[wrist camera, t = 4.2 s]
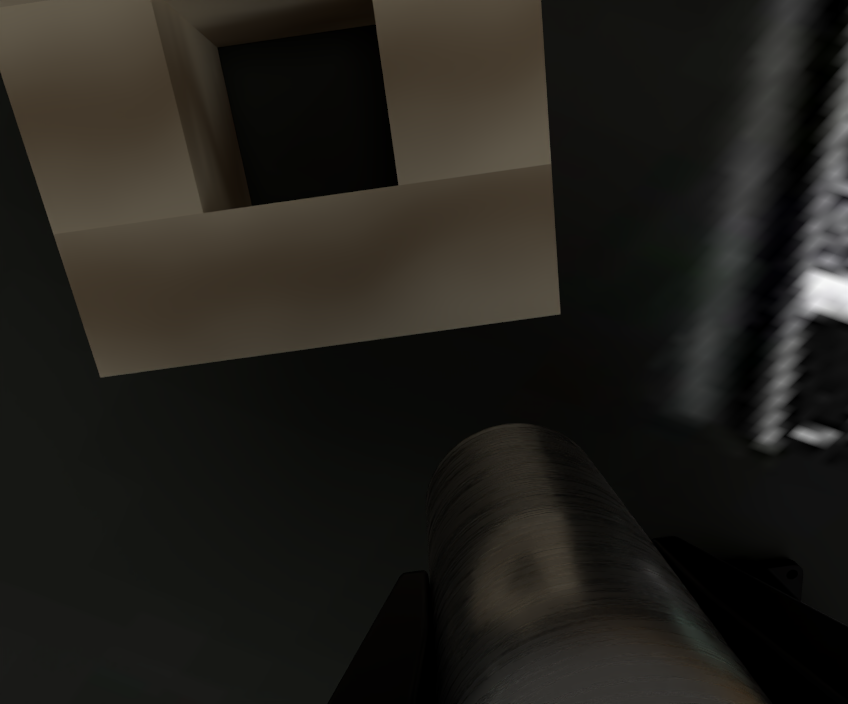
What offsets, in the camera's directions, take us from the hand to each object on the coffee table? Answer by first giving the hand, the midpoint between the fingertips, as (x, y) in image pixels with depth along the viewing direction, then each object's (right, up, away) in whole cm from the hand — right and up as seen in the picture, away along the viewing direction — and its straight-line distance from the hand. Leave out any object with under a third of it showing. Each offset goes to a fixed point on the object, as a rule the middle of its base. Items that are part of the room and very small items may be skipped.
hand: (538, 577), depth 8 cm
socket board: (-6, +12, +9) cm, 16 cm away
